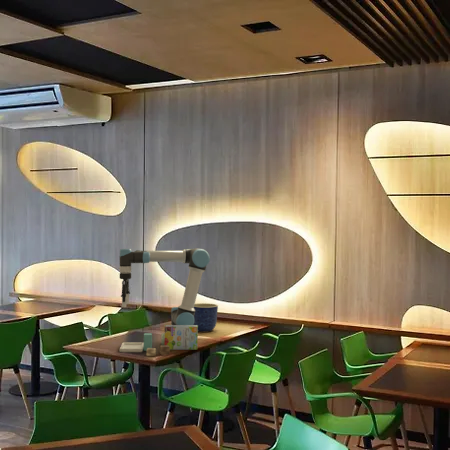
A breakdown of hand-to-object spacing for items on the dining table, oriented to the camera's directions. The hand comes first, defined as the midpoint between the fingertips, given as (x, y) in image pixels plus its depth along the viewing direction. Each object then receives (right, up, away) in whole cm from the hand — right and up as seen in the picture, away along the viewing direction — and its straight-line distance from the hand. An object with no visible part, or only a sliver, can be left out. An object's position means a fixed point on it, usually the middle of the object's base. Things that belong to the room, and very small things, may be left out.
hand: (125, 305), depth 397 cm
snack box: (+36, -28, -3) cm, 46 cm away
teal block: (+15, -27, -8) cm, 32 cm away
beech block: (+19, -28, -22) cm, 40 cm away
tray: (+5, -27, -5) cm, 28 cm away
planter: (+49, -27, +63) cm, 84 cm away
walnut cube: (+27, -28, -19) cm, 43 cm away
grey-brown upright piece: (+25, -27, +10) cm, 38 cm away
